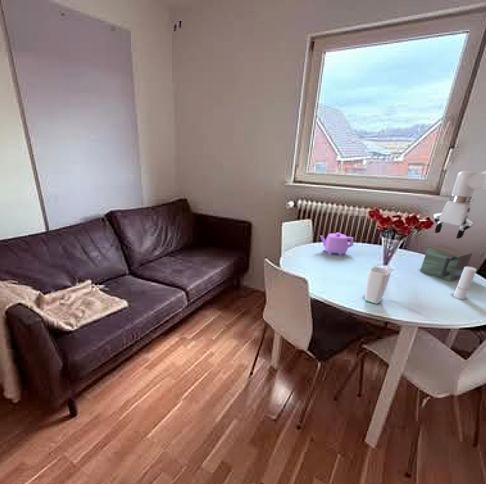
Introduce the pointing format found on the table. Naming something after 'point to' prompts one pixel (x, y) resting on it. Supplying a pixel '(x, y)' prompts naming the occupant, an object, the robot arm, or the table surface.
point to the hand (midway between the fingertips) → (447, 235)
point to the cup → (376, 284)
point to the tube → (465, 282)
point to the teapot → (337, 243)
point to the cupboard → (462, 254)
